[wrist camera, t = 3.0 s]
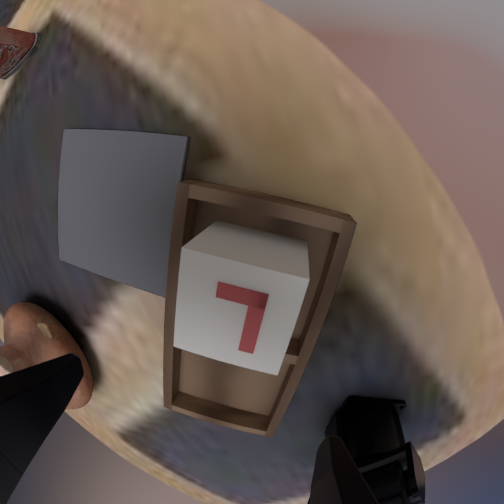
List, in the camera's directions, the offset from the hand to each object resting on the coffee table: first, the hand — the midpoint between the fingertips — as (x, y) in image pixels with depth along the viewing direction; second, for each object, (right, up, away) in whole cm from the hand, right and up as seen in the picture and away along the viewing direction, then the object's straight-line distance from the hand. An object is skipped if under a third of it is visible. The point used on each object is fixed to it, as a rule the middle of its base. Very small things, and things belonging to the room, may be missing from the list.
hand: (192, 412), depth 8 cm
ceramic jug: (-22, -7, +20) cm, 30 cm away
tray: (+1, -1, +13) cm, 13 cm away
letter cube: (+2, +4, +11) cm, 12 cm away
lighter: (-24, +27, +9) cm, 37 cm away
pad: (-9, +9, +12) cm, 17 cm away
